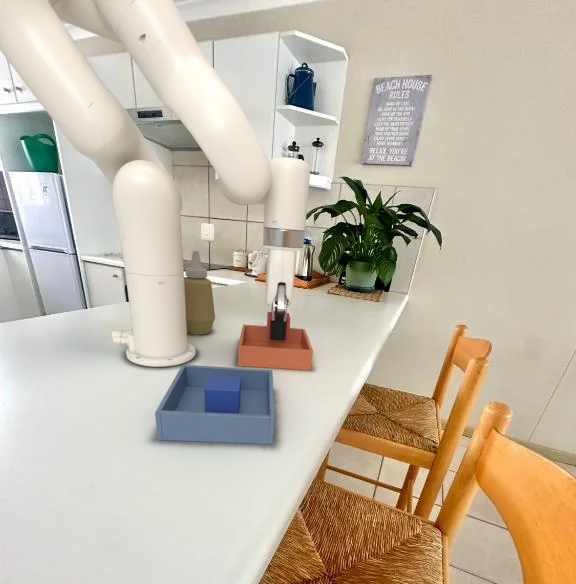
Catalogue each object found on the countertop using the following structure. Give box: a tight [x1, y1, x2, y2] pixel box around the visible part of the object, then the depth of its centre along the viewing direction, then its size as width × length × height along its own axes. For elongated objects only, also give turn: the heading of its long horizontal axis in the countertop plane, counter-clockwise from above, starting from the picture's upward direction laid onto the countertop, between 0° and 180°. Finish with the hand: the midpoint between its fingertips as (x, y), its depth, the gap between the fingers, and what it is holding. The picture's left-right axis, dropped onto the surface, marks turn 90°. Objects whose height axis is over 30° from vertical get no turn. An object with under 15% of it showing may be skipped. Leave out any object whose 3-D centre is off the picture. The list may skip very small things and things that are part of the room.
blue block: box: [204, 375, 241, 414], centre depth 45 cm, size 4×4×4 cm
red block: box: [266, 311, 291, 341], centre depth 66 cm, size 4×4×4 cm
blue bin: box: [154, 364, 276, 445], centre depth 46 cm, size 14×14×4 cm
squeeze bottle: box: [184, 250, 216, 335], centre depth 74 cm, size 8×8×18 cm
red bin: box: [237, 324, 314, 371], centre depth 68 cm, size 14×14×4 cm
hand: (277, 334), depth 67 cm, fingers closed on red block, 4 cm apart
